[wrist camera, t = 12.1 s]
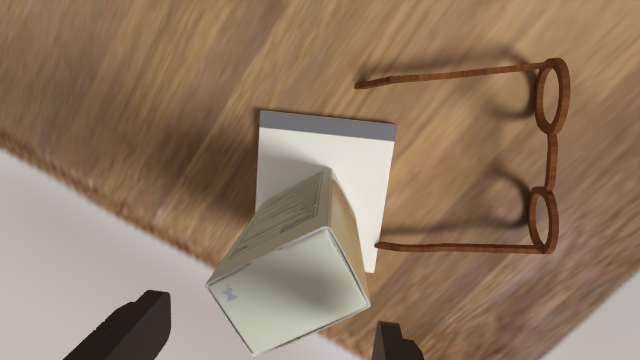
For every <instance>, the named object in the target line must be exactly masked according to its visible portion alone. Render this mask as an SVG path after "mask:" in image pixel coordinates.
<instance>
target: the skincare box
mask: <svg viewBox="0 0 640 360" xmlns="http://www.w3.org/2000/svg"><path fill="white" fill-rule="evenodd" d="M205 287H206V289H207V290H208V292H209V293H210V295H211V296H212V298H213V299H214V301H215V303H216V304H217V306H218V307H219V309H220V310H221V312H222V313H223V315H224V316H225V318H226V319H227V321H228V322H229V324H230V325H231V327H232V328H233V330H234V331H235V333H236V334H237V336H238V337H239V339H240V340H241V341H242V343H243V344H244V345H245V346H246V348H247V349H248V351H249V352H250V354H251V355H252V356H254V357H256V356H260V355H262V354H265V353H268V352H270V351H273V350H275V349H278V348H280V347H283V346H285V345H288V344H291V343H292V342H295V341H297V340H299V339H302V338H304V337H306V336H309V335H311V334H313V333H315V332H318V331H320V330H322V329H324V328H327V327H329V326H331V325H333V324H335V323H338V322H340V321H342V320H344V319H346V318H348V317H350V316H352V315H354V314H356V313H358V312H361V311H363V310H365V309H367V308H369V307H370V299H369V293H368V287H367V282H366V276H365V269H364V263H363V258H362V252H361V246H360V240H359V234H358V228H357V222H356V216H355V212H354V210H353V208H352V206H351V204H350V202H349V200H348V198H347V196H346V194H345V192H344V190H343V188H342V186H341V184H340V182H339V180H338V178H337V177H336V175H335V173H334V171H333V170H332V169H331V168H327V169H325V170H323V171H321V172H319V173H317V174H315V175H313V176H311V177H309V178H306V179H304V180H302V181H301V182H299V183H297V184H295V185H293V186H291V187H289V188H287V189H285V190H283V191H282V192H280V193H278V194H276V195H274V196H273V197H271V198H269V199H267V200H266V201H264V202H263V203H262V205H261V206H260V207H259V209H258V210H257V212H256V213H255V215H254V216H253V218H252V219H251V220H250V222H249V223H248V225H247V226H246V227H245V229H244V230H243V232H242V233H241V235H240V236H239V237H238V239H237V240H236V242H235V243H234V244H233V246H232V247H231V249H230V250H229V252H228V253H227V254H226V256H225V257H224V259H223V260H222V262H221V263H220V264H219V266H218V267H217V269H216V270H215V271H214V273H213V274H212V276H211V277H210V279H209V280H208V281H207V283H206V285H205Z"/></svg>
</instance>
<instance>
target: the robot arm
mask: <svg viewBox="0 0 640 360" xmlns="http://www.w3.org/2000/svg"><path fill="white" fill-rule="evenodd" d="M170 301H171V300H170V294H169V293H168V292H161V291H154V290H147V291H146V292H145V293H144V294H143V295H142V296H141V297H140V298H139V299H138V300H137V301H136V302H129V303H127V304H125V305H123V306H122V307H120V308H118V309H116V310H115V311H114V312H113V313H112V314H111V315H110V316H109V317H108V318H107V319H106V320H105V322H102V323H101V324H100V325H99V326H98V327H97V328H96V330H94V331H93V332H92V333H91V334H89V335H88V336H87V337H86V338H85V339H84V340H83V341H82V342H81V343H80V344H79V345H78V346H77V347H76V348H75V349H74V350H73V351H72V352H70V353H69V354H68V355H67V356H66V357H65V358H64V359H63V360H154V359H155V358H156V357H157V355H158V354H159V352H160V351H161V350H162V348H163V346H164V345H165V344H166V342H167V340H168V338H169V335H170V330H171V302H170ZM372 360H424V357H423V354H422V351H421V350H420V349H419V347H418V346H417V345H416V344H415V342H414V341H413V340H408V339H403V338H402V334H401V329H400V325H399V323H392V322H385V321H378V324H377V329H376V335H375V341H374V347H373V353H372Z"/></svg>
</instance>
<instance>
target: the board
mask: <svg viewBox="0 0 640 360" xmlns="http://www.w3.org/2000/svg"><path fill="white" fill-rule="evenodd" d="M259 127H260V130H259V149H258V169H257V188H256V208H255V213H256V212H257V210H258V209H259V207H260V206H261V205H262V203H263V202H264V201H266V200H267V199H269V198H271V197H273V196H274V195H276V194H278V193H280V192H282V191H283V190H285V189H287V188H289V187H291V186H293V185H295V184H297V183H299V182H301V181H302V180H304V179H306V178H309V177H311V176H313V175H315V174H317V173H319V172H321V171H323V170H325V169H327V168H331V169H332V170H333V171H334V173H335V175H336V177H337V178H338V180H339V182H340V184H341V186H342V188H343V190H344V192H345V194H346V196H347V198H348V200H349V202H350V204H351V206H352V208H353V210H354V212H355V216H356V222H357V228H358V234H359V240H360V246H361V252H362V258H363V263H364V269H365V272H371V273H374V268H375V262H376V256H377V249H378V248H374V245H375V243H379V236H380V230H381V224H382V217H383V211H384V204H385V198H386V192H387V185H388V179H389V172H390V166H391V160H392V153H393V147H394V142H395V136H396V129H397V125H396V124H388V123H379V122H369V121H360V120H350V119H341V118H331V117H321V116H312V115H302V114H293V113H283V112H273V111H264V110H262V111H260V123H259Z"/></svg>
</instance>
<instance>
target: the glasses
mask: <svg viewBox="0 0 640 360" xmlns="http://www.w3.org/2000/svg"><path fill="white" fill-rule="evenodd" d="M552 68H553V69H554V70H555V71H556V74H557V77H558V82H559V100H558V107H557V112H556V115H555V118H554V120H553V122H552V123H551V124H549V123H548V122H547V120H546V119H545V116H544V112H543V90H544V84H545V80H546V77H547V75H548V73H549V71H550V70H551V69H552ZM535 69H540V70H539V73H538V76H537V80H536V86H535V103H534V111H535V118H536V122H537V125H538V127H539V128H540V130H541V131H543V132H544V133H546V134H547V138H548V152H547V166H546V179H545V185H544V187H543V186H542V187H534V188H533V189H532V190H531V193H530V196H529V206H528V227H529V233H530V236H531V240H532V242H533V244H534V245H497V244H454V243H443V244H427V245H402V244H394V243H387V242H380V241H379V243H375V245H374V248H380V249H386V250H393V251H401V252H440V251H457V252H491V253H526V254H551V253H553V251H554V250H555V248H556V245H557V240H558V233H559V217H558V209H557V204H556V200H555V196H554V194H553V192H552V190H553V188H554V185H555V179H556V167H557V154H558V142H557V135H556V134H558V133H559V132H560V131H561V129H562V127H563V124H564V122H565V120H566V116H567V113H568V108H569V101H570V76H569V71H568V67H567V65H566V63H565V62H564V60H563V59H561V58H550V59H548V60H546V61H545V62H542V63H533V64H524V65H514V66H505V67H496V68H487V69H478V70H469V71H459V72H450V73H438V74H422V75H404V76H389V77H385V78H380V79H376V80H371V81H367V82H362V83H358V84H355V89H368V88H373V87H378V86H383V85H388V84H393V83H402V82H414V81H427V80H439V79H449V78H459V77H469V76H478V75H488V74H497V73H507V72H516V71H526V70H535ZM539 195H541V196H542V197H543V198H544V200H545V202H546V205H547V209H548V216H549V232H548V238H547V241H546V243H545V245H544V244H543V243H542V241H541V239H540V238H539V235H538V232H537V228H536V218H535V213H536V203H537V199H538V197H539Z"/></svg>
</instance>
